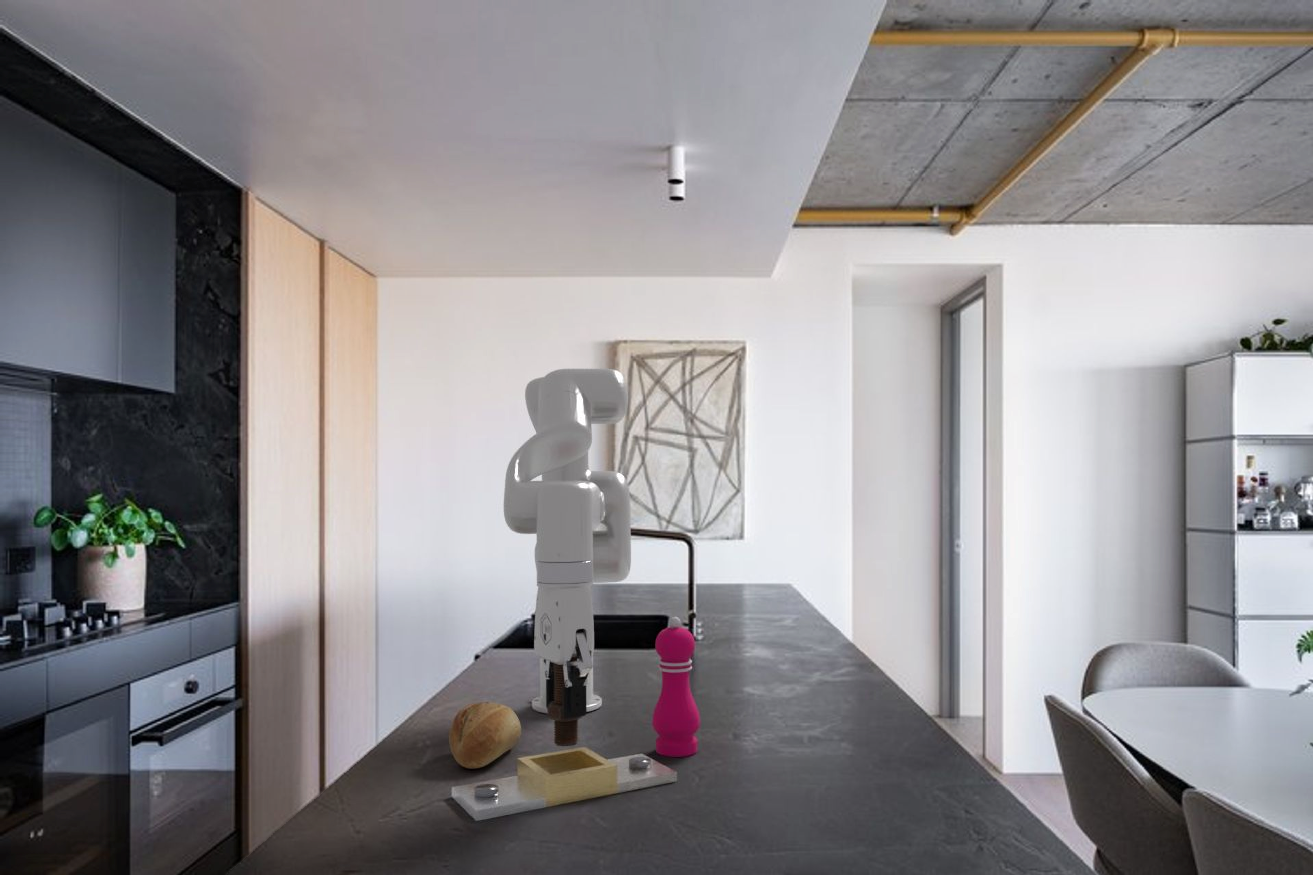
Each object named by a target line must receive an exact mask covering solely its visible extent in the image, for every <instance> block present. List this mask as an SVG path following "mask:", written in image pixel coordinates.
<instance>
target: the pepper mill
mask: <svg viewBox="0 0 1313 875" xmlns="http://www.w3.org/2000/svg"><path fill="white" fill-rule="evenodd" d="M668 624H669V627H666V628H664V629H662V630H661V631H660V632H659V633H657V634H658V635H656V638H655V645H654V646H655V651H656V654H658V656H659V658H660V659H659V660H658V664H659V667H658V670H659V671H660V672H661V678H662V679H661V680H662V681H661V691H660V694H659V697H658V701H657V703H656V705H655V707H654V710H653V714H652V720H651V721H652V728H653V729H654V731H655V732H656V734H657V735H658V737H657V738H656V739H655V751H656V754H658V755H661V756H665V757H668V758H669V757H670V758H678V757H679V758H683V757H689V756H693V755H694V754H696V753H697V752H698V739H697V738H696V736H695V734H696V733H697V731H699V729H700V726H701V716H700V713H699V710H698V706H697V705H696V702H695V699H694V697H693V694H692V692H691V691H692V690H691V688H690V680H689V679H690V671H691V670H692V669H693V666H692V663H693V660H692V659H691V656H692V655H693V653H694V652H695V650H696V642H695V637H694V636H693V633H691V631H689V630H688V629H687V628H684V627H681V619H680V618H679V617H677V616H672V617H671V618H670V619H669V620H668Z"/></svg>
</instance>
